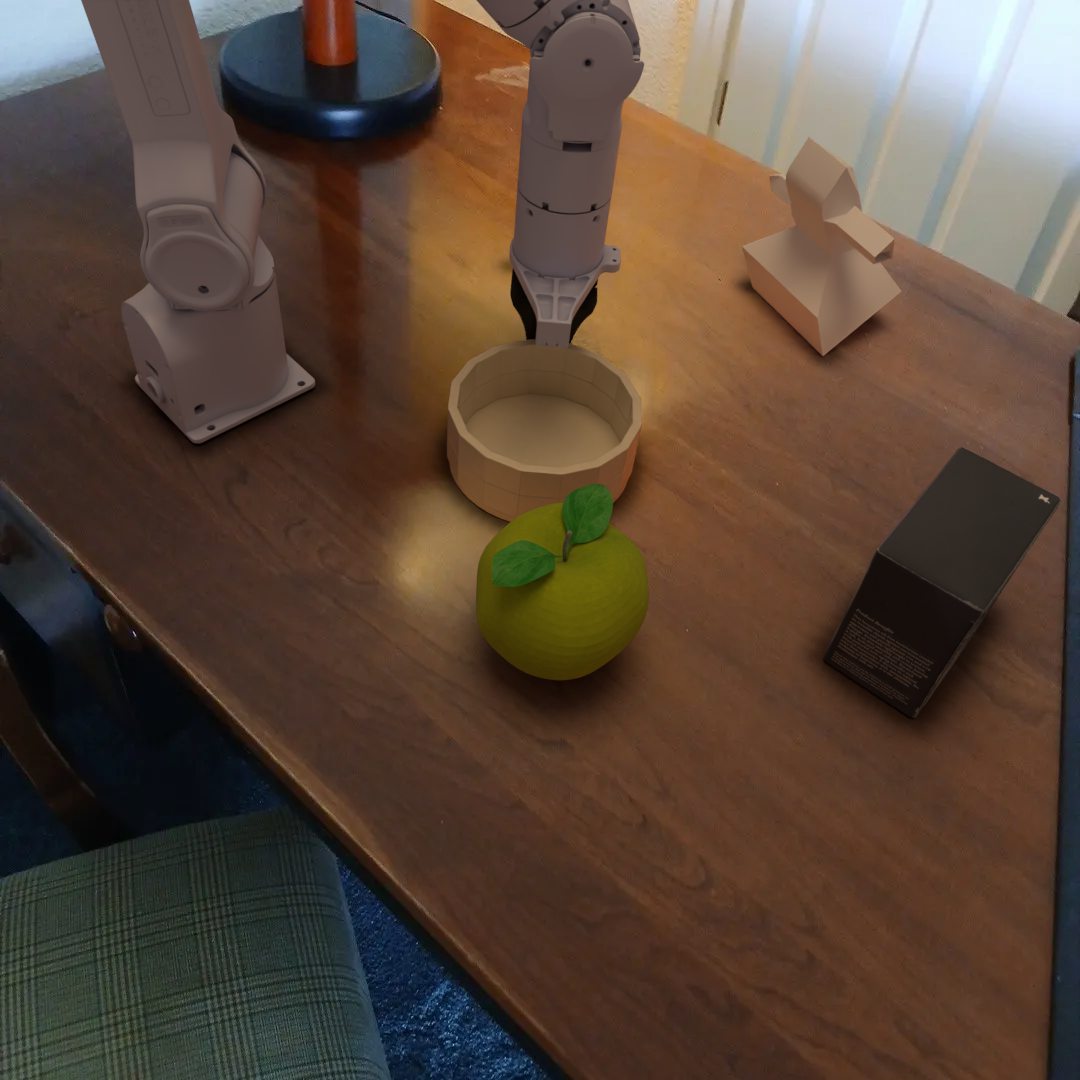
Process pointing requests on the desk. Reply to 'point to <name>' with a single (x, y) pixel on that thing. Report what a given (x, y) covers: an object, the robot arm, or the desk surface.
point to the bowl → (540, 426)
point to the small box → (937, 579)
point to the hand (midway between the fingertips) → (545, 361)
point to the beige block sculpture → (822, 252)
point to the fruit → (562, 588)
